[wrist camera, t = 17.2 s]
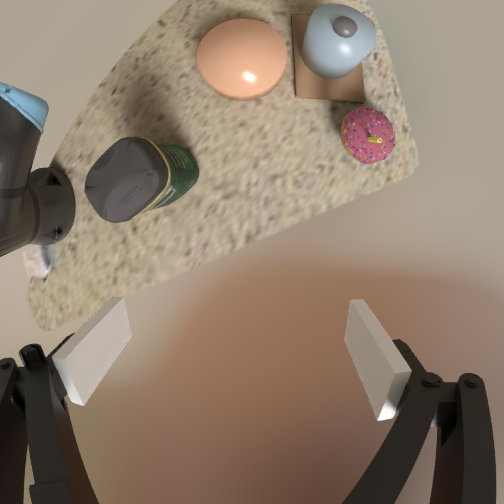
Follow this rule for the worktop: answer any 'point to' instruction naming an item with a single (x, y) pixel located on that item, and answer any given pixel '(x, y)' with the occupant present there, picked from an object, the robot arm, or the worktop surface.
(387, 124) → the cupcake
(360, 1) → the worktop surface
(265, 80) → the peach round dome
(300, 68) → the mat
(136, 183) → the coffee jar
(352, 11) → the blue-grey knobbed jar
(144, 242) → the worktop surface
